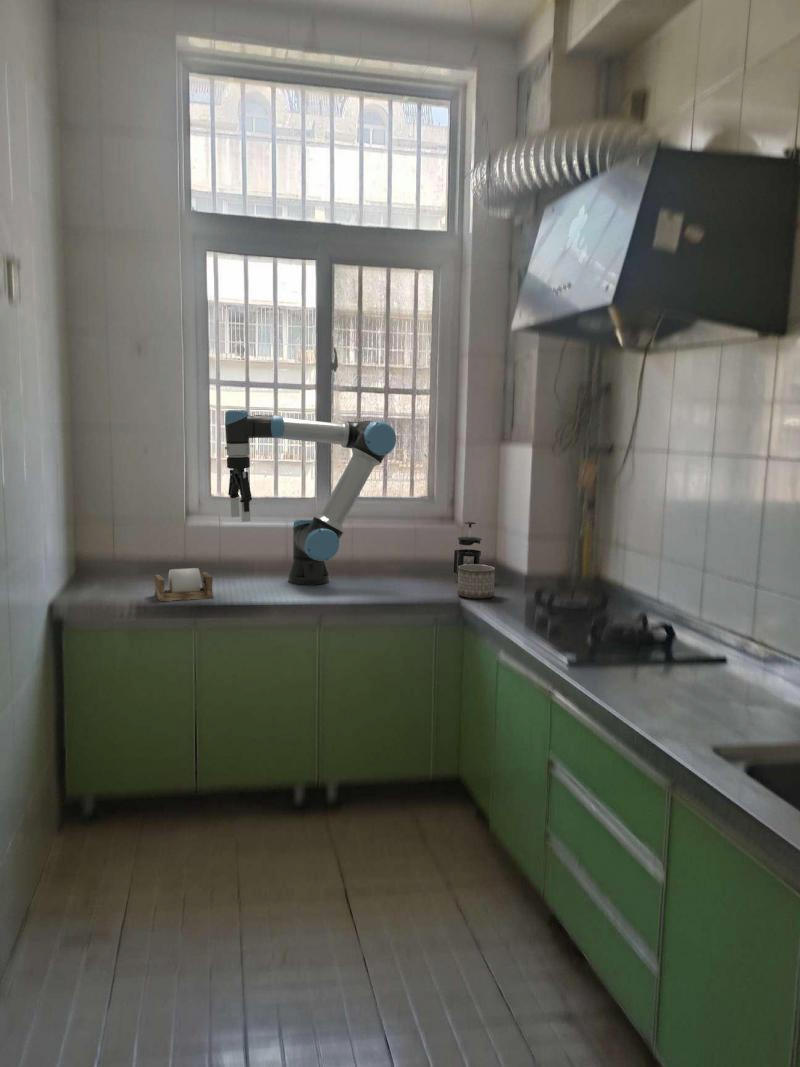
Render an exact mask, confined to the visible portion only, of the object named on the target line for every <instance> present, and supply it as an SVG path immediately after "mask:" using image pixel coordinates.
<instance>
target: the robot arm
mask: <svg viewBox="0 0 800 1067" xmlns="http://www.w3.org/2000/svg"><path fill="white" fill-rule="evenodd" d="M248 412H249V411H248V410H247V409H229V410H227V411H225V414H224V416H225V417H224V418H225V421H224V422H225V423H224V429H225V442H226V446H224V450H226V456H227V457H226V468H228V469H230V470H229V481H228V483H229V484H228V496H229V498H230V500H229V501H230V517H232V518H237V517H240V510H241V522H242V523H243V522H244V523H246V522H251V501H252V500H253V497H252V491H251V488H250V487H251V486H250V481H249V472H248V471H245V469H249V468H250V467H251V461H250V460H251V459H250V457H249V456H250V454H251V453H250V440H249V439H281V440H291V441H292V440H293V441H301V442H311V443H314V442H315V443H322V444H334V445H340V446H341V447H342V448H347V449H351V451H352V456H351V458H350V460H349V462H348V463H347V465H346V467H345V469H344V470H343V472H342V475H341V476H340V478H339V480H338V481H337V484H336V485H335V487H334V489H333V490H332V493H331V495H330V496H329V498H328V500H327V502H326V503H325V506H324V508H323V509H322V510H321V513H320V514H317V515H314V516H313V518H312V519H296V520H294V522H293V527H292V531H293V533H292V535H293V537H292V538H293V540H292V542H293V543H292V550H293V552H292V563H291V566H290V569H289V572H288V576H287V582H289V583H290V584H296V585H309V586H310V585H312V586H313V585H314V586H315V585H324V584H327V583H330V573H329V570H328V567H327V564H326V561H328V560H330V559H333V557H335V556H336V554H337V553H338V551H339V548H340V539H341V537H342V536H343V533H344V528H343V525H344V523H345V521H346V519H347V518H348V515H349V514H350V512H351V510H352V509H353V508H352V507H353V506H354V505H355V503H356V501H357V499H358V497H359V496H360V494H361V492H362V490H363V488H364V486H365V484H366V482H367V481H368V480H369V477H370V475H371V473H372V472H373V470H374V468H375V467H376V466H380V465H381V464H382V462H383V460H384V459H385V457H386V456H387V455H388V454H390V453H391V452H392V451H393V450H394V448H395V447H396V444H397V436H396V431H395V430H394V428H393V427H392V425H390V424H388V423H387V422H385V421H383V420H363V421H349V420H347V421H346V420H344V422H342V423H338V422H330V421H319V420H311V419H310V420H309V419H300V418H299V419H298V418H290V417H283V416H282V415H278V414H277V415H275V414H269V415H268V414H267V415H262V414H255V415H249V413H248ZM240 497H241V499H239V498H240ZM240 507H241V509H240Z"/></svg>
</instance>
